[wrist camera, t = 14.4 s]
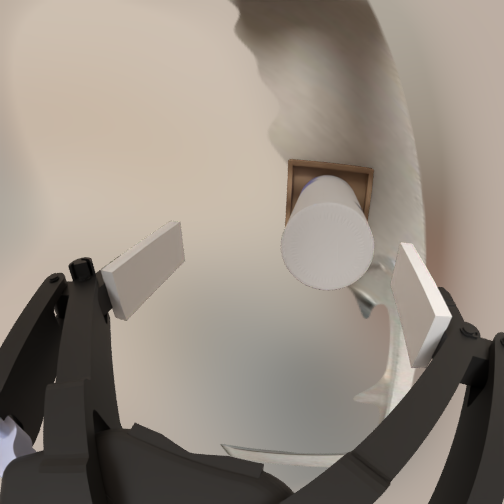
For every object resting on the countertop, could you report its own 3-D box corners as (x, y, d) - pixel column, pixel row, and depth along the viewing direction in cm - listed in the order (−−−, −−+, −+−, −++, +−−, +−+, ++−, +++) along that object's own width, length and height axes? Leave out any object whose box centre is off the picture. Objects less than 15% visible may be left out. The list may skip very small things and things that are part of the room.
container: (360, 226, 46) (377, 285, 28) (305, 234, 49) (290, 295, 31) (350, 170, 42) (368, 196, 25) (293, 180, 45) (270, 212, 28)
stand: (290, 159, 45) (288, 160, 43) (371, 168, 42) (373, 169, 39) (286, 235, 51) (284, 240, 49) (361, 244, 48) (362, 249, 45)
